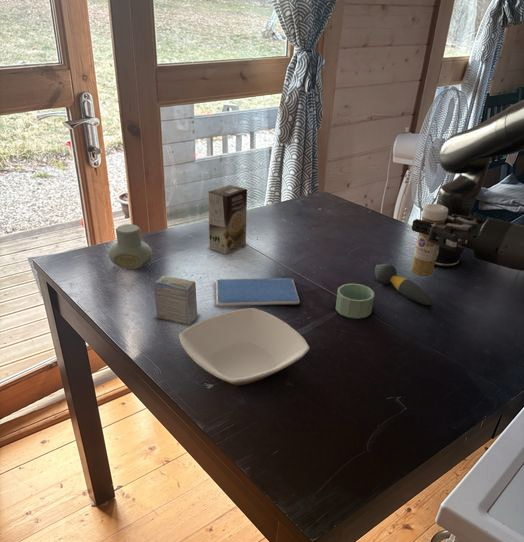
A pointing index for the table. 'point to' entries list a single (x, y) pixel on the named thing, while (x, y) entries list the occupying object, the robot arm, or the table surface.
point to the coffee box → (227, 218)
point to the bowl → (243, 345)
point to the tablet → (256, 292)
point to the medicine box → (175, 299)
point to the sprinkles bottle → (424, 248)
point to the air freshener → (130, 248)
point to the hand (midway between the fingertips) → (419, 221)
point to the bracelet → (354, 300)
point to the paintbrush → (401, 284)
